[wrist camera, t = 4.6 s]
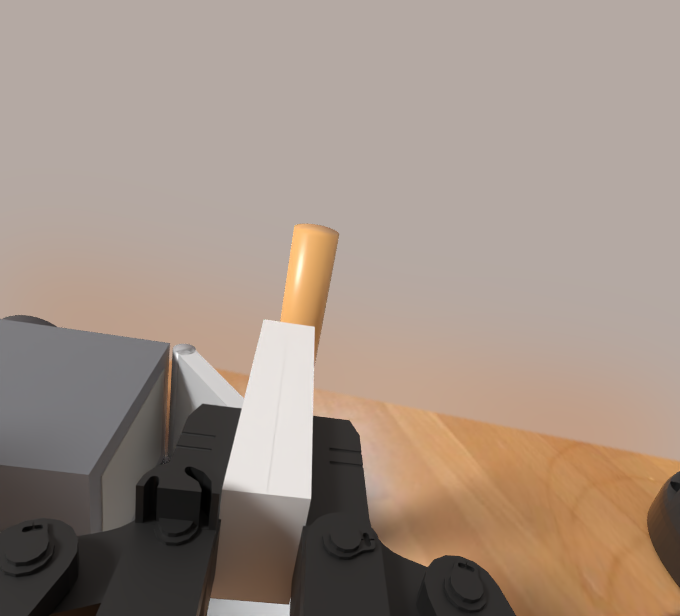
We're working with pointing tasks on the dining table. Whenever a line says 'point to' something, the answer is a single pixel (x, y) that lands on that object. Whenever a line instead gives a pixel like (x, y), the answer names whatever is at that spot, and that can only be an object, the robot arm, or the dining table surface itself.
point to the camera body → (77, 423)
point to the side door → (298, 308)
